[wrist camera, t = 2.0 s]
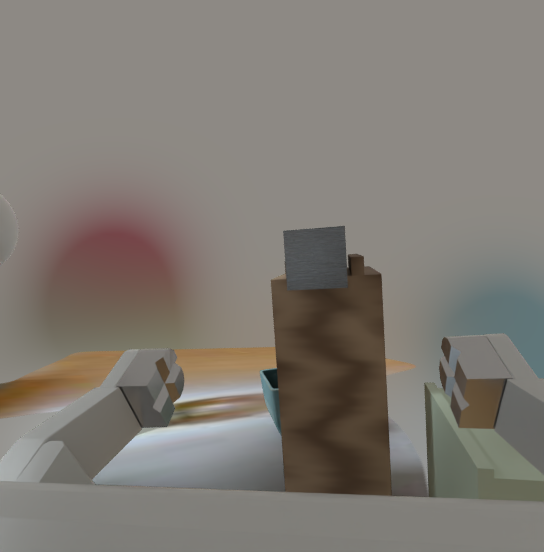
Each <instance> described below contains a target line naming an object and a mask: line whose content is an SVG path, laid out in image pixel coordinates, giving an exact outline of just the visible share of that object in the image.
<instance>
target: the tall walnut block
mask: <svg viewBox="0 0 544 552" xmlns="http://www.w3.org/2000/svg"><path fill="white" fill-rule="evenodd" d="M348 266H349V268H347V280H348V288H332V289H310V290H288V291H287V279H286V273H285V274H283V275H281V276H278V277H276V278H274V279H272V280H271V287H272V304H273V318H274V332H275V347H276V362H277V376H278V391H279V405H280V420H281V435H282V449H283V464H284V478H285V492H302V493H329V494H356V495H384V496H392V490H391V469H390V448H389V426H388V407H387V384H386V363H385V343H384V342H385V341H384V322H383V321H384V320H383V300H382V278H381V274H380V273H379V272H377V271H376V270H374V269H373V268H371V267H364V257H363V256H361V255H358V254H349V255H348ZM285 272H286V264H285Z"/></svg>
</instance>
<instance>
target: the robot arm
mask: <svg viewBox="0 0 544 552" xmlns="http://www.w3.org/2000/svg"><path fill="white" fill-rule="evenodd" d="M18 235H19V228H18V221H17V218H16V215H15V213H14V210H13V209H12V207H11V205H10V204H9V203H8V201H7V200H6V199H5V198H4V197H3V196H2V195H1V194H0V265H1V264H3V263H4V262H5V261H6V260H7V259H8V258H9V257H10V255H11V254H12V252H13V251H14V249H15V246H16V244H17V241H18ZM441 348H442V350H443V353H444V356H443V357H442V358H441V359H440V366H439V370H440V379H441V383H442V386H443V389H444V392H445V394H447V395H448V396H449V397H451V405H450V407H451V410H452V412H453V415H454V417H455V420H456V422H457V425H458V427H459V428H476V429H495V430H494V431H495V432H496V433H497V434H499V435H500V436H501V437H502V438H503V439H504V440H505V441H506V442H507V443H509V444H510V445H511V446H512V447H513V448H514V449H515V450H516V451H517V452H519V453H520V454H521V455H522V456H523V457H524V458H525V459H526V460H527V461H529V462H530V463H531V464H532V465H533V466H534V467H535V468H536V469H537V470H539V471H540V472H541V473H542V474H543V475H544V379H538V377H537V376H536V375H535V373H534V372H533V371H532V369H531V368H530V366H529V365H528V364H527V362H526V361H525V359H524V358H523V357H522V355H521V354H520V352H519V351H518V350H517V348H516V347H515V346H514V344H513V343H512V341H511V340H510V339H509V337H508V336H507V335H505V334H504V333H503V334H486V335H472V336H453V337H444V338H443V340H442V346H441ZM176 359H177V356H176V354H175V352H174V350H173V349H129V350H127V351H125V352H124V353H123V355H122V356H121V358H120V359H119V360H118V362H117V363H116V365H115V366H114V368H113V369H112V370H111V372H110V373H109V375H108V376H107V378H106V379H105V380H104V382H103V383H102V385H101V386H100V387H99V388H94V389H92V390H91V391H89V392H88V393H86V394H85V395H83V396H82V397H80V398H79V399H77V400H76V401H74V402H73V403H71V404H70V405H68V406H67V407H65V408H64V409H62V410H61V411H59V412H58V413H57V414H55V415H53V416H52V417H51V418H49V419H47V420H46V421H44V422H43V423H42V424H40V425H38V426H37V427H35V428H34V429H32V430H31V431H30V432H28V433H27V434H25V435H24V436H22V437H21V438H19V439H18V440H17V441H16V442H15V444H14V445H13V446H12V447H11V448H10V450H9V451H8V452H7V453H6V455H5V456H4V457H3V458H2V460H1V461H0V552H544V501H518V500H491V499H465V498H438V497H411V496H384V495H356V494H329V493H302V492H276V491H249V490H223V489H197V488H171V487H144V486H118V485H95V484H94V482H93V481H92V479H93V478H94V477H95V476H96V475H97V474H98V473H99V472H100V471H101V470H102V469H103V468H104V467H105V466H106V465H107V464H108V463H109V462H110V461H111V460H112V459H113V458H114V457H115V456H116V455H117V454H118V453H119V452H120V451H121V450H122V449H123V448H124V447H125V446H126V445H127V444H128V443H129V442H130V441H131V440H132V439H133V438H134V437H135V436H136V435H137V434H138V433H139V432H140V431H141V430H142V428H150V427H151V428H153V427H167V426H168V424H169V422H170V419H171V417H172V415H173V412H174V410H175V407H174V404H173V403H174V402H175V401H176V400H177V399H178V398H179V397H180V396H181V394H182V391H183V387H184V374H183V371H182V368H181V367H180V366H178V365H177V364H176V363H175V361H176Z"/></svg>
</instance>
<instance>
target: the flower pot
mask: <svg viewBox="0 0 544 552" xmlns="http://www.w3.org/2000/svg"><path fill="white" fill-rule="evenodd" d="M260 376H261V382H262V388H263V393H264V398H265V402H266V405H267V408H268V410H269V413H270V415H271V417H272V419H273V421H274V423H275V425H276V427H277V429H278V431H279V433H280V434H281V420H280V405H279V391H278V376H277V368H273V369H266V370H261V371H260ZM281 436H282V435H281Z"/></svg>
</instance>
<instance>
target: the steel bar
mask: <svg viewBox="0 0 544 552" xmlns="http://www.w3.org/2000/svg"><path fill="white" fill-rule="evenodd" d="M283 233H284V248H285V264H286V279H287V291H288V290H310V289H332V288H348V280H347V262H346V243H345V226H339V227H326V228H315V229H301V230H291V231H290V230H289V231H283Z"/></svg>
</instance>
